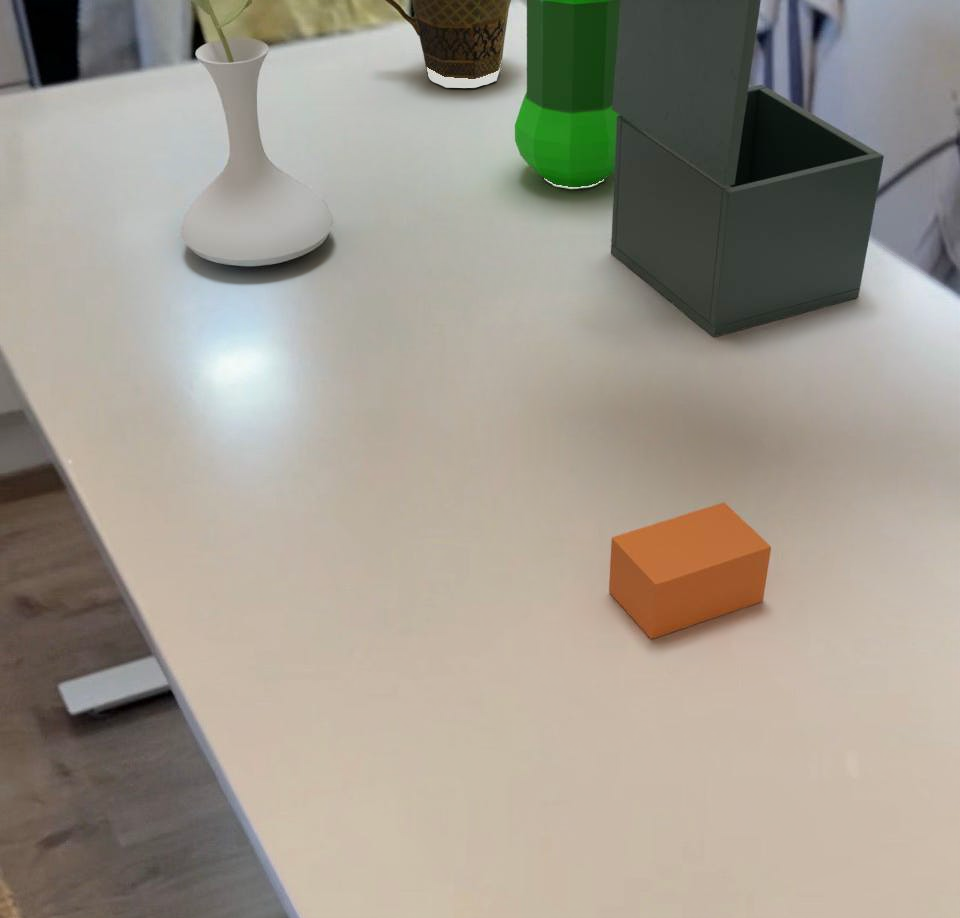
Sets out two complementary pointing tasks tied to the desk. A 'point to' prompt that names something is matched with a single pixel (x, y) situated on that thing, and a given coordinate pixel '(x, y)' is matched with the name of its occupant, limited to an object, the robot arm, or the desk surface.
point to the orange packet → (688, 569)
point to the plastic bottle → (570, 91)
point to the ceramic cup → (460, 35)
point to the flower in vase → (249, 173)
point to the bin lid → (687, 76)
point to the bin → (748, 218)
